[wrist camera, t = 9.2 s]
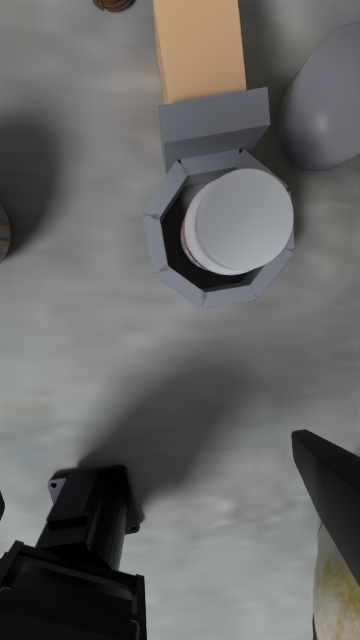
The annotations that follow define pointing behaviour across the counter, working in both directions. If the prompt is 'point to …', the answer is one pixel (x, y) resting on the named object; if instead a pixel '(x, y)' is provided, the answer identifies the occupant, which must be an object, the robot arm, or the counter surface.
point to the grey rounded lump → (324, 104)
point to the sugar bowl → (334, 594)
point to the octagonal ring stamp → (205, 129)
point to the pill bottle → (237, 222)
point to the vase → (4, 233)
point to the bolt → (111, 4)
